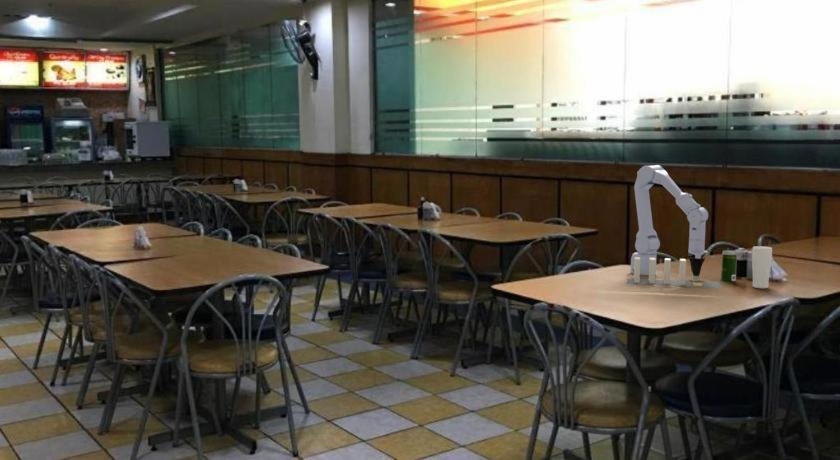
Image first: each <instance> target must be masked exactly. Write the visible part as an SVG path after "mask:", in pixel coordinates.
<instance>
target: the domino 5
mask: <svg viewBox="0 0 840 460" xmlns="http://www.w3.org/2000/svg"><path fill="white" fill-rule="evenodd" d="M699 278H700V275H699V276H693V272H692V271H691V280H692V281H696V282H700V281H699V280H700V279H699Z"/></svg>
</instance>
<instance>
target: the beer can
mask: <svg viewBox="0 0 840 460" xmlns="http://www.w3.org/2000/svg"><path fill="white" fill-rule="evenodd" d="M737 261H738V254H737V251H736V250H730V249H729V250H728V249H727V250H722V253H721V268H720V270H721V271H720V272H721V273H720V281H723V282H730V283H731V282H736V281H737V280H736V279H737Z"/></svg>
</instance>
